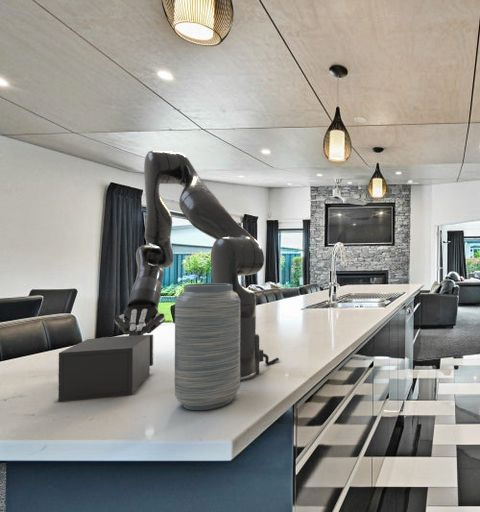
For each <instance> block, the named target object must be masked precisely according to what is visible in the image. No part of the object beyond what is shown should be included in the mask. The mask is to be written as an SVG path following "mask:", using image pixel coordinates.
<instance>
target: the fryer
mask: <svg viewBox="0 0 480 512" xmlns="http://www.w3.org/2000/svg"><path fill="white" fill-rule="evenodd" d="M148 335H149V336H131V337H119V336H113V337H114V338H102V337H99V338H97V337H96V338H87V339H85V340H83V341H81V342H79V343H77V344H74V345H72V346H70V347H68V348H66V349H64V350H62V351H60V352H58V387H57V388H58V391H57V394H58V398H57V402H58V403H60V402H71V401H80V400H90V399H99V398H100V399H101V398H110V397H119V396H129V395H134V393H135V392H136V391H137V390H138V388H139V387H141V386H142V384H143V383H144V382H145V381H146V380H147V378H149V376H150V374H151V373H150V370H151V369H150V368H151V366H150V335H151V334H148Z"/></svg>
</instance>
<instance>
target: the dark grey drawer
mask: <svg viewBox="0 0 480 512" xmlns="http://www.w3.org/2000/svg"><path fill="white" fill-rule="evenodd" d="M149 335H150V367H153V366H154V334H143V335H137V336H149ZM114 337H115V336H105V337H101V338H114ZM118 337H131V336H129V335H120V336H118Z"/></svg>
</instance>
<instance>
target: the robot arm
mask: <svg viewBox="0 0 480 512" xmlns="http://www.w3.org/2000/svg"><path fill="white" fill-rule="evenodd" d="M143 173H144V175H143V176H144V192H145V205H146V219H145V226H144V227H145V228H144V239H145V241H146V242H147V243H149V244H143V245H141V246H139V247H138V248H137V249H136V253H135V260H136V265H137V266H136V267H137V273H136V277H135V280H134V281H135V282H134V283H133V285H132V288H131V292H130V295H129V299H128V301H127V305H126V309H125V310H123V313H121V314H120V315H118V314H115V315H114V316H113V317H112V318H113V321H114V323H115V325H116V326H117V327H118V328H119V329H120V331H121V332H122V333H123V335H125V336H137V335H146V334H151V333H152V332H154V331H155V330H156V329H157V328H158V327H159V326H161V325H162V324H163V323H165V321H166V315H165V313H160V312H159V303H160V299H161V296H162V285H163V280H164V270H163V269H169V268H170V267H171V266H172V265H173V263H174V252H173V251H174V250H173V247H172V243H171V234H172V230H173V229H172V228H173V218H172V214H171V211H170V210H169V208H168V206H167V205H166V203H165V202H164V201H163V199H162V196H161V194H160V186H161V185H180V186H181V187H183V189H182V191H181V193H180V196H179V201H178V204H179V208H180V210H181V213H182V214H183V215H184V217H185V218H186V219H187V221H188V222H189V223H190V224H191V225H192V226H193V227H194V228H195V229H196V230H198V231H199V232H202V233H203V234H205V235H206V236H208V237H210V238H212V239H214V240H215V241H214V242H213V244H212V247H211V252H210V271H211V272H210V273H211V283H229V284H232V285H233V291H234V292H236V293H237V294H238V296H239V298H240V381H245V380H248V379H251V378H253V377H255V376H257V375H260V363H261V362H264V363H265V364H266V365H268V366H269V365H272V364H275V363H276V362H278V361H279V360H280V358H279V357H275V358H274V359H272V360H270V359H269V358H270V357H269V355H268V354H266V353H265V352H264V350H263V349H260V335H259V334H258V333H257V316H256V315H257V304H256V303H257V294H256V292H255V291H254V290H250V289H248V288H245V287H244V286H242V285H241V284H240V281H239V276H251V275H255V274H258V273H259V272H260V271H261V270H262V269H263V267H264V264H265V254H264V250H263V248H262V247H261V245H260V243H259V242H258V241H257V240H256V238H255V237H253V236H252V234H250V233H249V232H248V231H247V230H246V229H245V228H244V227H242V225H240V223H238V222H237V221H236V219H234V217H233V216H232V215H231V213H229V211H228V210H227V209H226V208H225V207H224V206H223V204H222V203H221V201H220V200H219V199H218V198H217V196H215V194H214V193H213V191H211V190H210V189H209V187H208V186H207V185H206V184H205V182H204V181H203V179H202V178H201V177H200V176H199V174H198V172H197V171H196V169H195V167H194V165H193V164H192V162H191V160H189V158H188V157H187V156H186V155H185V154H184V153H181V152H178V151H168V150H167V151H165V150H150V151H148V152H147V153H146V155H145V158H144V163H143ZM125 319H126V320H127V322H128V323H129V324H130V326H129V327H128V325H127V324H126V323H125V322H126V321H125ZM264 358H265V361H264ZM269 360H270V361H269Z"/></svg>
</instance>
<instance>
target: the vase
mask: <svg viewBox="0 0 480 512" xmlns="http://www.w3.org/2000/svg"><path fill="white" fill-rule="evenodd" d="M240 387H241V380H240V298H239V296H238V294H237V293H236V292H234V291H233V285H232V284H229V283H212V282H211V283H210V282H209V283H190V284H184V285H183V291H182V292H181V293H180V294H179V295H177V297H176V299H175V302H174V396H175V398H176V399H177V401H178V402H179V403H181V405H182V406H183V408H184V409H187V410H190V411H207V410H214V409H217V408H221V407H224V406H227V405H228V404H229V403H231V402H232V400H233V398H234V397H235V396H236V395H237V393H238V392H239V390H240Z"/></svg>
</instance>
